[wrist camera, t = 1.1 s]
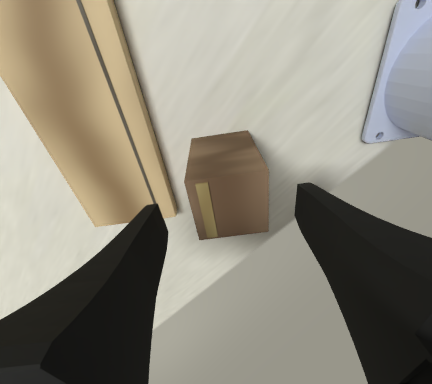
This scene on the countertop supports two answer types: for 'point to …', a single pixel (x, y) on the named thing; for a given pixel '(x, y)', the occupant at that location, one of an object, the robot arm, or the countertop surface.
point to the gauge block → (227, 186)
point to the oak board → (85, 103)
